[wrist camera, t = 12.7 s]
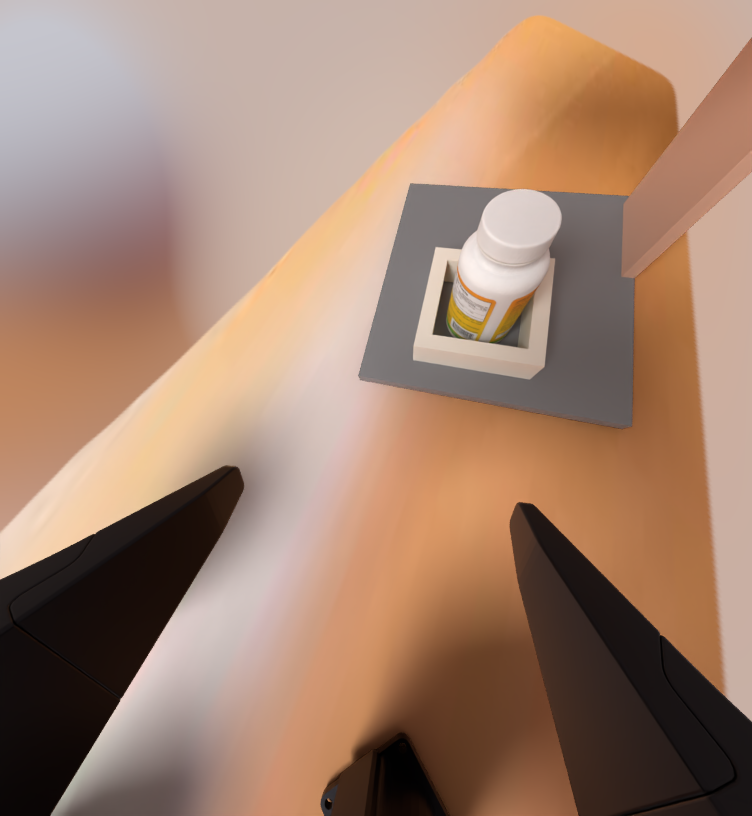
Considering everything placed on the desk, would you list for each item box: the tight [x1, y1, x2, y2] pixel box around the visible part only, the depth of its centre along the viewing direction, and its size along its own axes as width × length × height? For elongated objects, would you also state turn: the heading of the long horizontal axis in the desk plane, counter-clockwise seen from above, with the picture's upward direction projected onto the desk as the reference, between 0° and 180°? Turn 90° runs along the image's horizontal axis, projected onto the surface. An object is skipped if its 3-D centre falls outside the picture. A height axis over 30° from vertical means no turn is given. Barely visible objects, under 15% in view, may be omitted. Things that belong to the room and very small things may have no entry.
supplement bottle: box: [446, 189, 562, 344], centre depth 19 cm, size 5×5×10 cm
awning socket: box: [358, 38, 752, 429], centre depth 15 cm, size 22×21×20 cm
